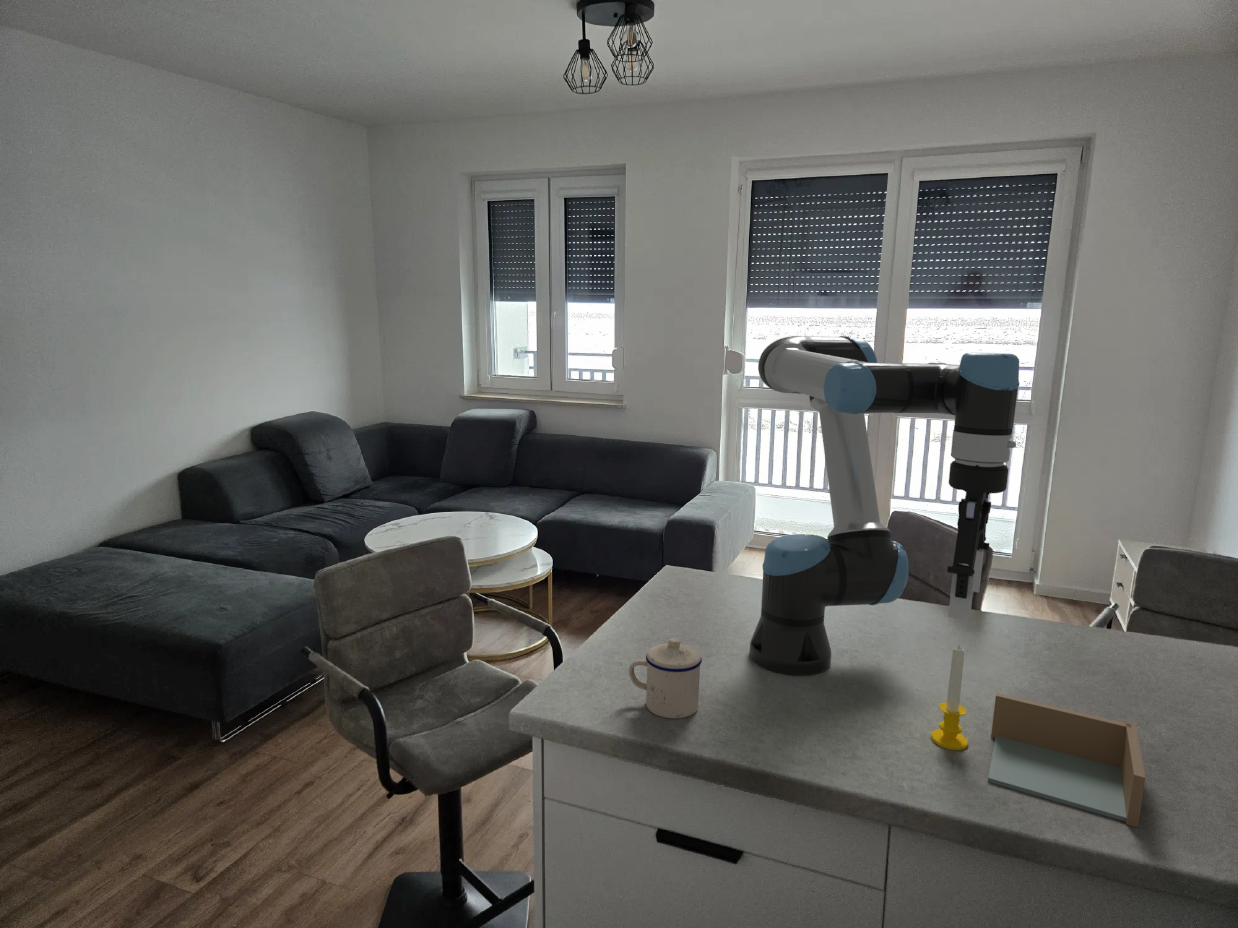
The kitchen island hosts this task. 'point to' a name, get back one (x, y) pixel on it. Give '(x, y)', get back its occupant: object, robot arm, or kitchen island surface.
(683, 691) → the teacup with lid
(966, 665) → the kitchen island surface
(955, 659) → the candle
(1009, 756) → the open room model
